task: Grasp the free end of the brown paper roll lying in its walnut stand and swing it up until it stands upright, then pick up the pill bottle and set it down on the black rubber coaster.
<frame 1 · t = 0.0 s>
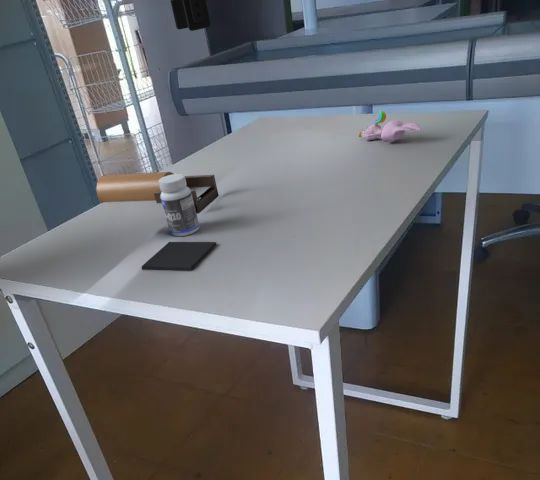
hand: (193, 28, 84), 26 cm above the table, tool pointing down, fingers open, 9 cm apart
coaster: (180, 257, 78), on the table
paper roll: (137, 190, 98), point 3 cm above the table, hinge at 0.0°
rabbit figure: (389, 143, 107), on the table
pill bottle: (185, 231, 86), on the table
roll stand: (175, 205, 97), on the table
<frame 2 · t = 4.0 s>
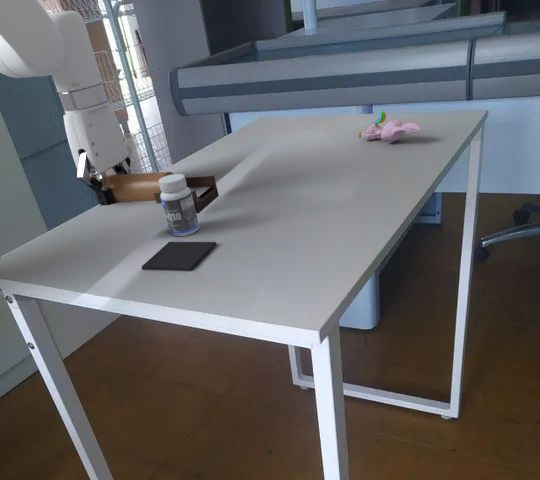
hand: (119, 203, 101), 1 cm above the table, tool pointing down, fingers closed on paper roll, 5 cm apart
paper roll: (137, 190, 98), point 3 cm above the table, hinge at 0.0°, touching gripper
everything else where it was.
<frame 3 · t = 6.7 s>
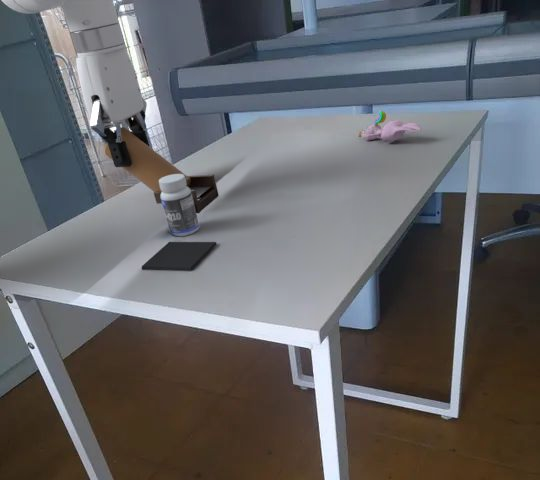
hand: (133, 159, 95), 8 cm above the table, tool pointing down, fingers closed on paper roll, 5 cm apart
paper roll: (148, 166, 94), point 7 cm above the table, hinge at 41.9°, touching gripper
everything else where it was.
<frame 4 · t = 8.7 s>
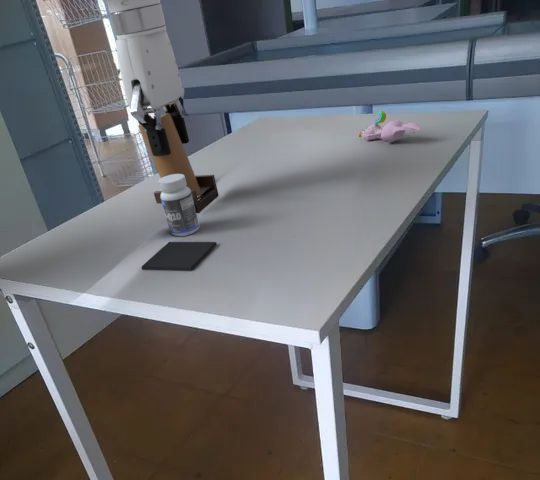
hand: (171, 148, 91), 10 cm above the table, tool pointing down, fingers closed on paper roll, 5 cm apart
paper roll: (171, 161, 92), point 8 cm above the table, hinge at 80.0°, touching gripper
everything else where it was.
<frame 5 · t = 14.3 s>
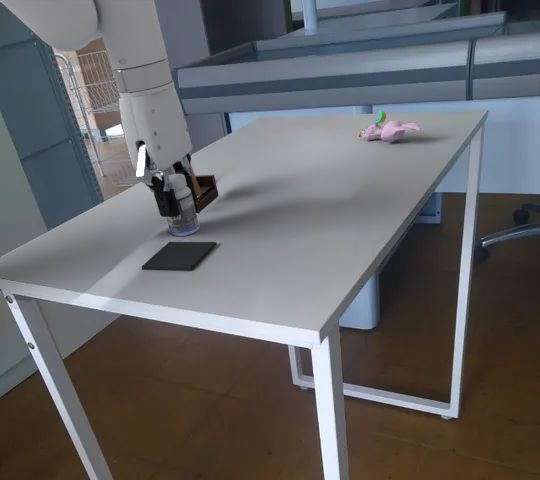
hand: (179, 207, 84), 4 cm above the table, tool pointing down, fingers closed on pill bottle, 4 cm apart
paper roll: (171, 161, 92), point 8 cm above the table, hinge at 80.5°
pill bottle: (185, 231, 86), on the table, touching gripper
everything else where it was.
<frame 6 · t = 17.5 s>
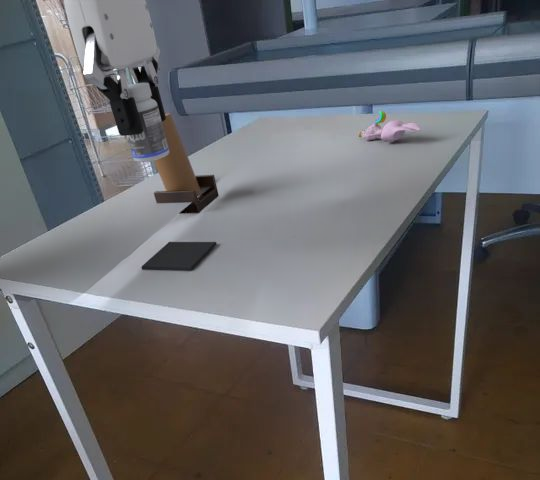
hand: (143, 126, 68), 18 cm above the table, tool pointing down, fingers closed on pill bottle, 4 cm apart
pill bottle: (152, 158, 70), point 14 cm above the table, touching gripper
everything else where it was.
when the fingers open (4 cm above the table, at t = 20.8 s): pill bottle stays where it is, resting on coaster.
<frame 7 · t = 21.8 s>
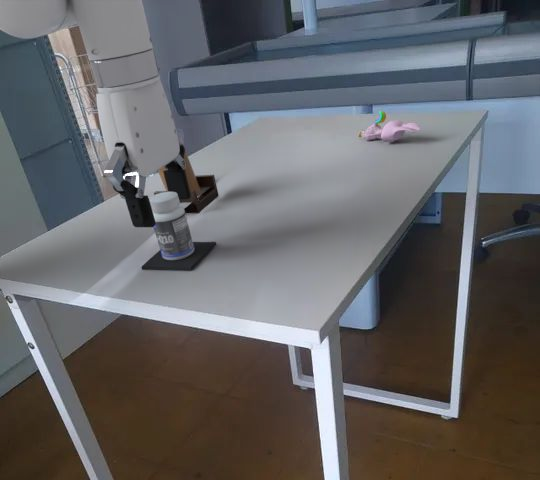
hand: (163, 211, 74), 7 cm above the table, tool pointing down, fingers open, 9 cm apart
pill bottle: (179, 255, 78), resting on coaster
everything else where it was.
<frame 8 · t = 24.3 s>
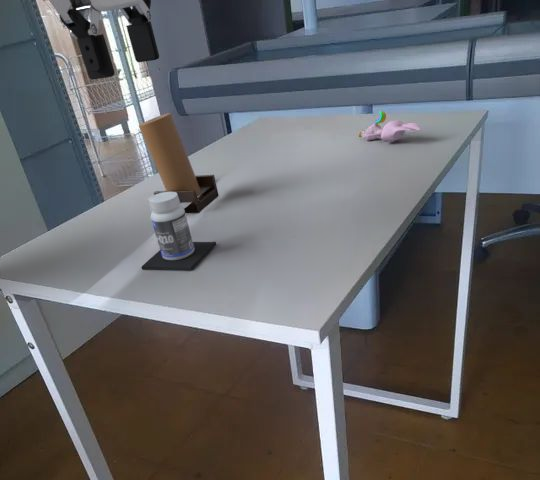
hand: (126, 68, 64), 24 cm above the table, tool pointing down, fingers open, 9 cm apart
nothing on the table moved.
at the end: paper roll at +80° (first picture: +0°); pill bottle 0.0 cm off-centre on the coaster, point 0.3 cm above the coaster's base; pill bottle tilted 0° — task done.
